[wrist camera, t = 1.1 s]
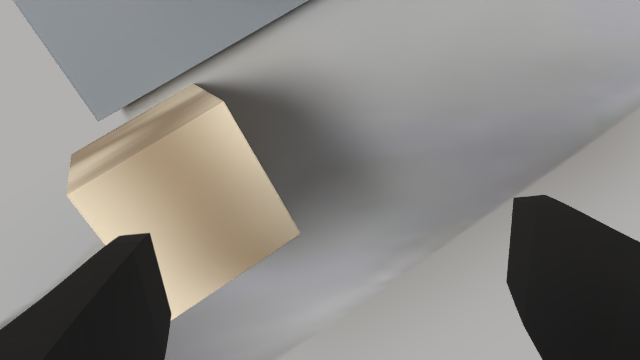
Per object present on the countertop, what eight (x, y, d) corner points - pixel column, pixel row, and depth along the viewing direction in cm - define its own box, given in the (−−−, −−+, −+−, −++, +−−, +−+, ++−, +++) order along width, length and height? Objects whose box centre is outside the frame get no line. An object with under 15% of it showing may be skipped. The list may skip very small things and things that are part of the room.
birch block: (149, 259, 21) (166, 323, 16) (71, 154, 19) (66, 195, 14) (257, 190, 22) (300, 233, 17) (192, 83, 20) (223, 101, 15)
